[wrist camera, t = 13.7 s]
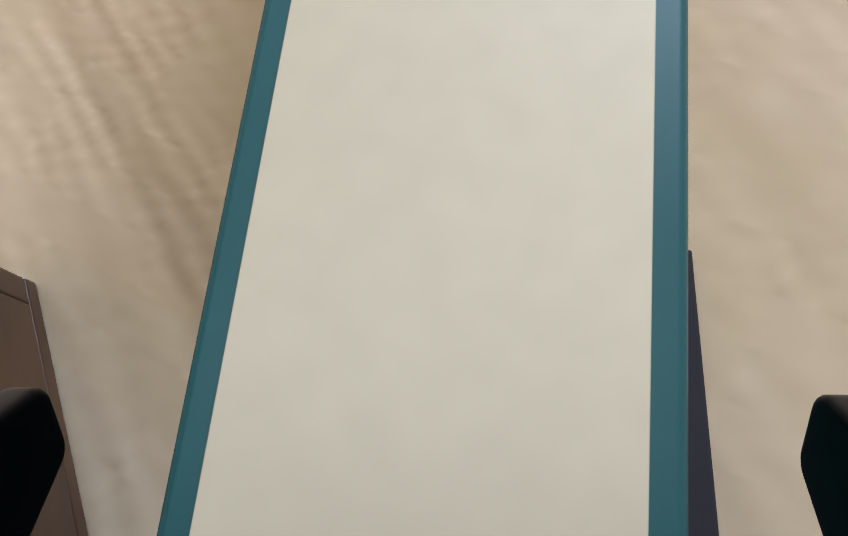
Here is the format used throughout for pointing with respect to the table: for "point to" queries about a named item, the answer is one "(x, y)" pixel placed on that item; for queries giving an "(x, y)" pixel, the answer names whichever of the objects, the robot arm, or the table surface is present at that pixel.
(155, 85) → the table surface
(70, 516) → the wooden box
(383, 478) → the book
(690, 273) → the felt pad
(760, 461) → the table surface
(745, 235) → the table surface
